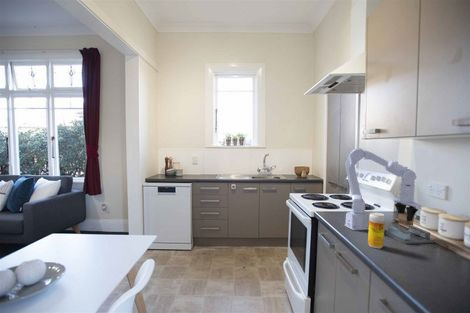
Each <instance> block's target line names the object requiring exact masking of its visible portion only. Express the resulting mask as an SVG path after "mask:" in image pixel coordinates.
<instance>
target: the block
mask: <svg viewBox="0 0 470 313" xmlns="http://www.w3.org/2000/svg"><path fill="white" fill-rule="evenodd" d="M414 218H415V216H414V217H413V220H412V221H407V212H404V213H399V215H398V224H401V225H403V226H407V227H409V226H414V220H415V219H414Z"/></svg>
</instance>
